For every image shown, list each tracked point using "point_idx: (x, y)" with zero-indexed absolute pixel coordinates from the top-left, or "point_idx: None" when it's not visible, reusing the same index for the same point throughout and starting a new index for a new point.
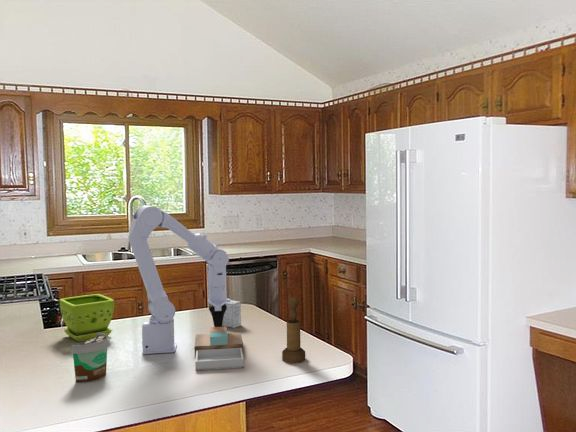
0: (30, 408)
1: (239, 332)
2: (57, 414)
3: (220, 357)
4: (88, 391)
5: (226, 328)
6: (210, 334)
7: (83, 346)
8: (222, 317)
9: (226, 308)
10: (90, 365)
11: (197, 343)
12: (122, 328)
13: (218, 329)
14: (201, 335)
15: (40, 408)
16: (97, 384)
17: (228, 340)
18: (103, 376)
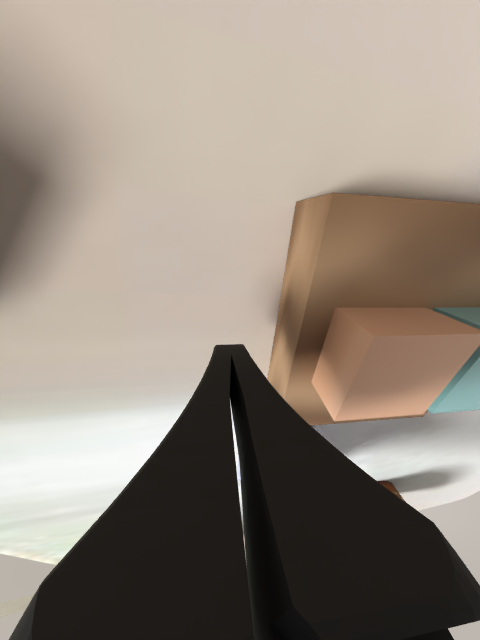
0: (435, 499)
1: (333, 206)
2: (475, 481)
3: None
4: (429, 479)
5: (429, 336)
6: (471, 409)
7: None
8: (288, 411)
9: (468, 591)
10: None
11: None
12: (71, 528)
13: (412, 381)
14: (298, 410)
15: (443, 494)
16: (411, 478)
17: (454, 300)
18: (385, 482)
